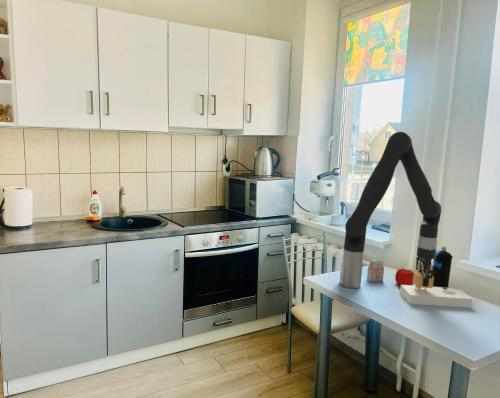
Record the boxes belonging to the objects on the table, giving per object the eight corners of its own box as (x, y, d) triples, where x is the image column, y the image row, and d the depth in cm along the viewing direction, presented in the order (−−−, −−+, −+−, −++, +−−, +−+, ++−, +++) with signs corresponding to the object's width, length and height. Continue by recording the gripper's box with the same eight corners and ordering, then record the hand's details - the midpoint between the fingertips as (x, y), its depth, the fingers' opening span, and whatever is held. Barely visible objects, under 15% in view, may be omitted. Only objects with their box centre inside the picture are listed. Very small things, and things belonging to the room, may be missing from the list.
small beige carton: (366, 279, 196) (368, 259, 194) (378, 278, 198) (380, 259, 196) (371, 281, 192) (373, 262, 191) (382, 280, 194) (384, 261, 193)
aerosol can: (444, 284, 194) (449, 245, 191) (451, 290, 186) (456, 249, 183) (427, 282, 195) (432, 243, 192) (433, 289, 187) (438, 248, 184)
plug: (417, 291, 170) (419, 271, 168) (412, 286, 175) (414, 267, 174) (431, 292, 170) (434, 272, 168) (426, 287, 175) (428, 268, 174)
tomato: (416, 288, 186) (418, 273, 185) (398, 287, 186) (399, 272, 185) (409, 281, 195) (411, 267, 194) (391, 280, 196) (393, 266, 194)
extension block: (409, 303, 167) (410, 293, 167) (399, 293, 179) (400, 283, 179) (471, 307, 167) (472, 297, 166) (457, 296, 178) (458, 287, 178)
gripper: (411, 241, 177) (408, 277, 179) (424, 250, 163) (420, 289, 165) (428, 242, 177) (424, 278, 179) (443, 251, 162) (438, 290, 165)
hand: (422, 283), depth 172 cm, fingers closed on plug, 5 cm apart
